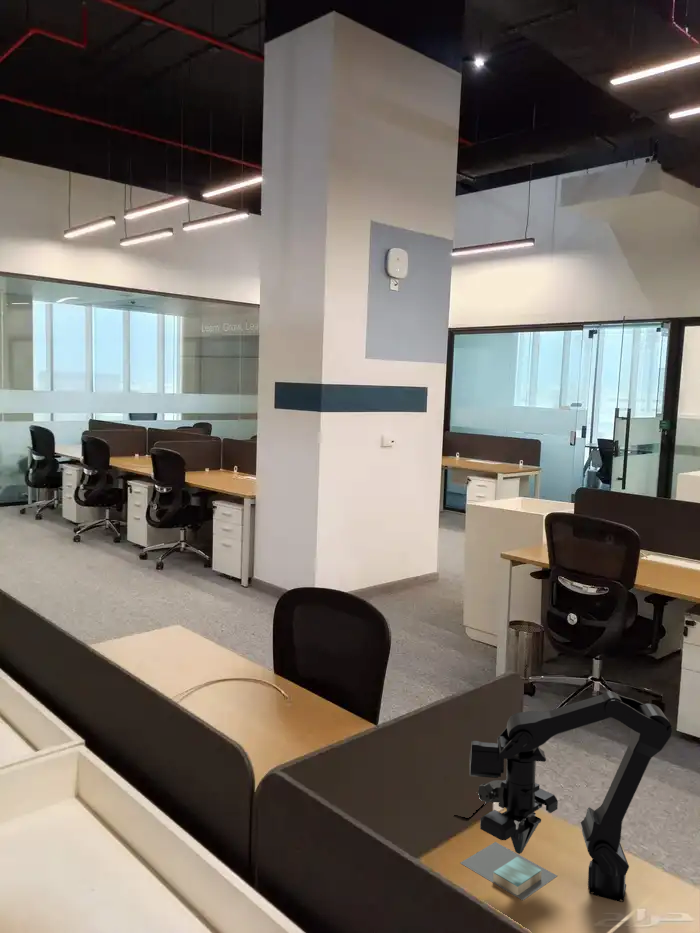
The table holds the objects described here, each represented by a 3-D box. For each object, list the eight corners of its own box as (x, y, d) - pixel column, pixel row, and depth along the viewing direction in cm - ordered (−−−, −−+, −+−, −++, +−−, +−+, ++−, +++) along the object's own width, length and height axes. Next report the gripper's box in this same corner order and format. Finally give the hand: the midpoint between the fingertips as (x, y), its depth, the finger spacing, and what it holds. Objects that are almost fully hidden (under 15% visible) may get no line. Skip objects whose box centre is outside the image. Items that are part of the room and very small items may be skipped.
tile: (541, 869, 154) (517, 885, 149) (541, 879, 154) (517, 895, 149) (517, 856, 158) (493, 871, 153) (517, 865, 159) (493, 881, 153)
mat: (557, 878, 155) (557, 875, 155) (522, 903, 147) (522, 900, 147) (495, 844, 167) (495, 841, 167) (459, 865, 159) (459, 862, 159)
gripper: (515, 751, 164) (513, 819, 165) (459, 778, 152) (458, 852, 153) (560, 769, 156) (557, 842, 157) (504, 800, 144) (502, 878, 145)
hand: (518, 852), depth 153 cm, fingers closed
